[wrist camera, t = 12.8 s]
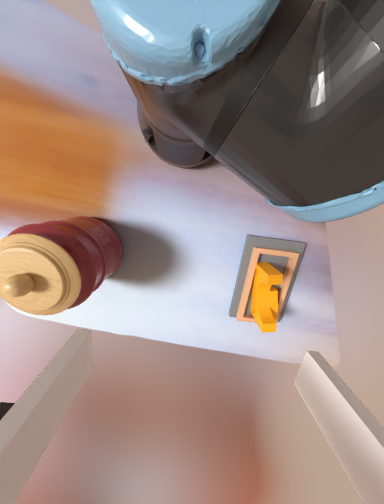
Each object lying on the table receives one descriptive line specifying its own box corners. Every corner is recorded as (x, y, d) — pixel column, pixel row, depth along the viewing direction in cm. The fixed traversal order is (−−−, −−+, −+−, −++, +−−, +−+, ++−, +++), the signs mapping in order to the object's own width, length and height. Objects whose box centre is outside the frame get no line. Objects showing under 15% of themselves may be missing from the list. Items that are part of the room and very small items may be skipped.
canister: (49, 257, 36) (-70, 308, 19) (73, 202, 33) (-44, 205, 16) (108, 287, 39) (47, 355, 22) (135, 237, 36) (88, 272, 19)
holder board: (247, 234, 36) (250, 236, 34) (302, 242, 37) (309, 244, 35) (228, 313, 41) (230, 320, 39) (277, 319, 42) (282, 325, 40)
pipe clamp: (269, 311, 40) (284, 331, 34) (250, 311, 40) (262, 332, 34) (275, 261, 37) (293, 274, 31) (254, 262, 37) (268, 275, 30)
